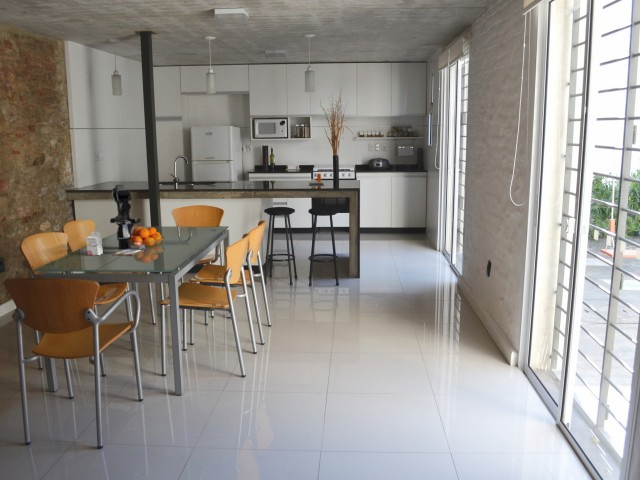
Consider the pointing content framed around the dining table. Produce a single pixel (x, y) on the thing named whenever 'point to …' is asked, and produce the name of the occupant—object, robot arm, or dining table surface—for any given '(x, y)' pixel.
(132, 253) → the picture board
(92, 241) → the ink cartridge box
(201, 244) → the dining table surface
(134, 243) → the button
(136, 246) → the button housing
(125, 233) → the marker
